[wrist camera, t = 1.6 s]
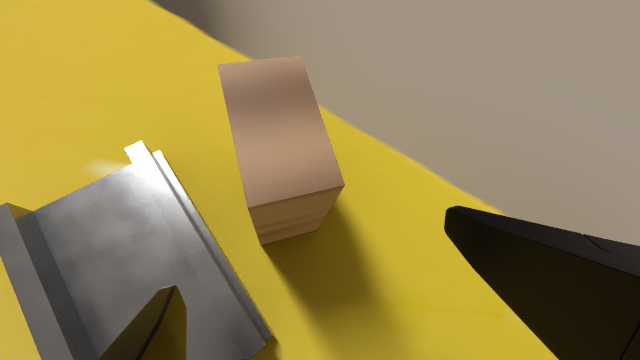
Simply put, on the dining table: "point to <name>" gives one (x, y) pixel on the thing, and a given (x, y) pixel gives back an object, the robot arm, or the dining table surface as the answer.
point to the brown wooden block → (280, 146)
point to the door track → (124, 266)
